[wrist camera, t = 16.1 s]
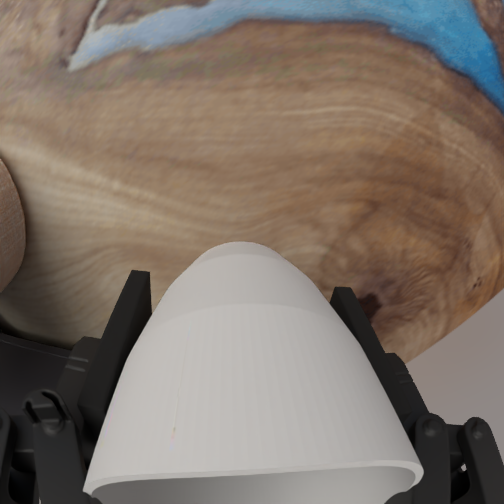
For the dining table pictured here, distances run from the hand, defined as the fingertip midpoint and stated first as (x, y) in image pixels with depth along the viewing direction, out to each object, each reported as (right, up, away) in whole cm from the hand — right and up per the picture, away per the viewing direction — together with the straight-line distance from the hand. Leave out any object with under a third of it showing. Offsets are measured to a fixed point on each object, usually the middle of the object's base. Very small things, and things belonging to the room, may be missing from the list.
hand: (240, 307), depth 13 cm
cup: (0, +1, +1) cm, 1 cm away
